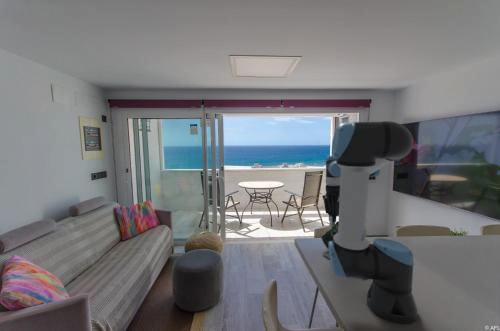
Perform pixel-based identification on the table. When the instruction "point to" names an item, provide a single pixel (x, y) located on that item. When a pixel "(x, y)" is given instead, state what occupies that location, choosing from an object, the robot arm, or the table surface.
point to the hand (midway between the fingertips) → (332, 227)
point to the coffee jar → (330, 235)
